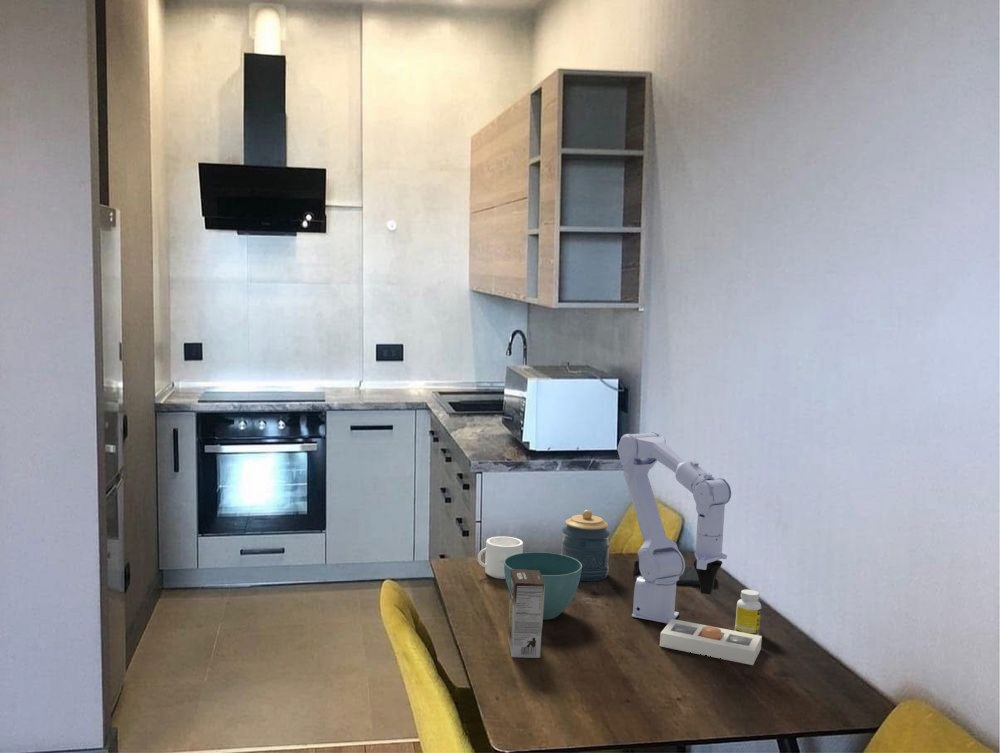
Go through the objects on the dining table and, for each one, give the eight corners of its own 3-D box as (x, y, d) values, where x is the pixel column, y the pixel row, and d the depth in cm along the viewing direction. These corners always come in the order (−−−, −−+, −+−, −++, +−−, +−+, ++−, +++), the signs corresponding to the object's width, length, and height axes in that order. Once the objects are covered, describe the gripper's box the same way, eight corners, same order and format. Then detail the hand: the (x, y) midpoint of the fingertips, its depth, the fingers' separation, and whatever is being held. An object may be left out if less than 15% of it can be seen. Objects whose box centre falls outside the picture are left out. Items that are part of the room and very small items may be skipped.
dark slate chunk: (715, 592, 249) (716, 574, 249) (630, 582, 254) (631, 564, 254) (715, 575, 264) (717, 558, 263) (635, 565, 269) (636, 549, 268)
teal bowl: (533, 633, 213) (536, 579, 212) (486, 608, 228) (488, 557, 227) (594, 619, 224) (598, 568, 223) (546, 596, 239) (548, 547, 237)
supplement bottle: (759, 639, 216) (763, 597, 215) (735, 636, 217) (738, 594, 216) (758, 631, 222) (761, 589, 221) (734, 628, 223) (737, 587, 222)
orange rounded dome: (699, 643, 209) (700, 630, 209) (703, 637, 212) (704, 625, 212) (718, 646, 207) (719, 634, 207) (721, 640, 211) (722, 628, 211)
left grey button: (672, 642, 211) (672, 630, 211) (676, 636, 215) (677, 624, 215) (690, 646, 210) (691, 633, 209) (694, 640, 213) (695, 628, 213)
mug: (482, 582, 247) (483, 548, 246) (472, 570, 256) (473, 537, 255) (526, 580, 250) (528, 546, 249) (515, 568, 260) (517, 535, 259)
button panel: (659, 646, 209) (660, 632, 209) (670, 631, 219) (671, 618, 218) (753, 665, 201) (754, 651, 201) (760, 649, 211) (761, 636, 210)
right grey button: (727, 653, 207) (728, 641, 206) (730, 647, 210) (731, 635, 210) (745, 657, 205) (746, 644, 205) (749, 651, 209) (750, 638, 208)
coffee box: (506, 641, 208) (510, 568, 207) (536, 641, 209) (540, 569, 207) (510, 657, 199) (514, 582, 198) (541, 658, 200) (545, 582, 198)
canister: (554, 567, 263) (557, 503, 261) (600, 566, 265) (604, 504, 263) (566, 582, 250) (570, 516, 248) (614, 582, 252) (618, 516, 250)
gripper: (721, 543, 205) (717, 605, 206) (734, 528, 218) (730, 587, 219) (688, 538, 208) (685, 599, 209) (703, 524, 221) (699, 582, 222)
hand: (706, 593), depth 214 cm, fingers closed
